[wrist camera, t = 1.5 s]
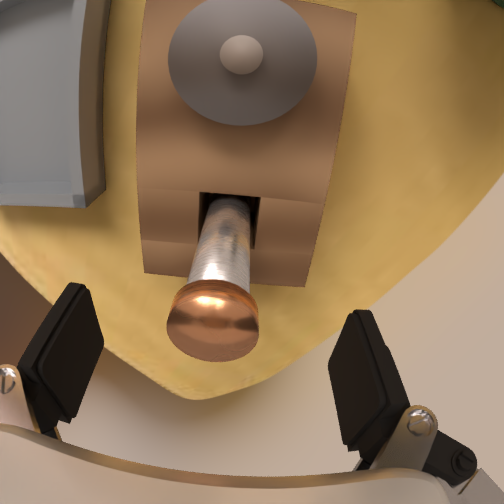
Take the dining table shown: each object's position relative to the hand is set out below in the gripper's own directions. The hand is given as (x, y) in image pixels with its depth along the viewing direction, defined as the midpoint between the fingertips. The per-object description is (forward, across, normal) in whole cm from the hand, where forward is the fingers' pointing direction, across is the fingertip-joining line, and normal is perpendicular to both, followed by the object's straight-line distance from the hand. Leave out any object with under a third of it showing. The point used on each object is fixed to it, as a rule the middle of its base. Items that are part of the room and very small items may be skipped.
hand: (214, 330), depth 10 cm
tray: (+13, +17, -9) cm, 23 cm away
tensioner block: (+13, 0, -5) cm, 14 cm away
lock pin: (+12, 0, -1) cm, 12 cm away
